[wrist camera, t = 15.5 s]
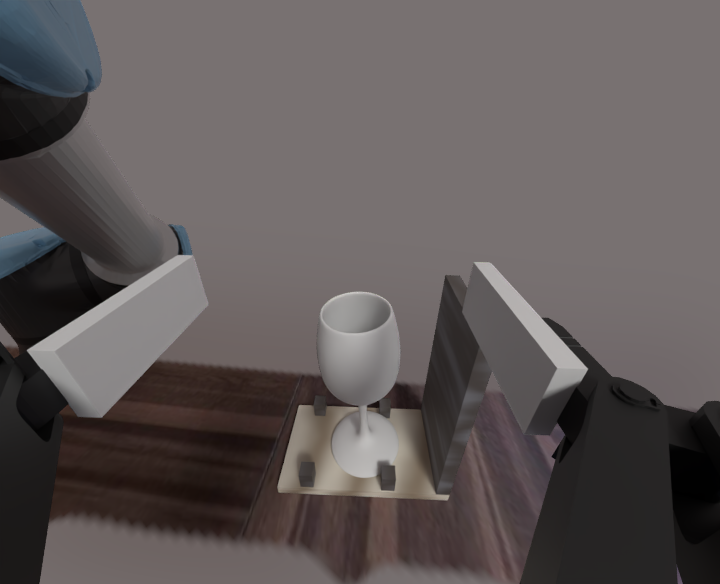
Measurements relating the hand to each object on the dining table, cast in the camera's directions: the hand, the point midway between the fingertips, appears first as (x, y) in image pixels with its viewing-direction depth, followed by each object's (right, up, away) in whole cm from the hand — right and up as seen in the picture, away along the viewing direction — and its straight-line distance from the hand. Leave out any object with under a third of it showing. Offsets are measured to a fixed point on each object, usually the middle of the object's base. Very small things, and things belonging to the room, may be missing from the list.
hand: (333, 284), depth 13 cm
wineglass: (+2, -20, +23) cm, 30 cm away
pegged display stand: (+2, -21, +23) cm, 32 cm away
